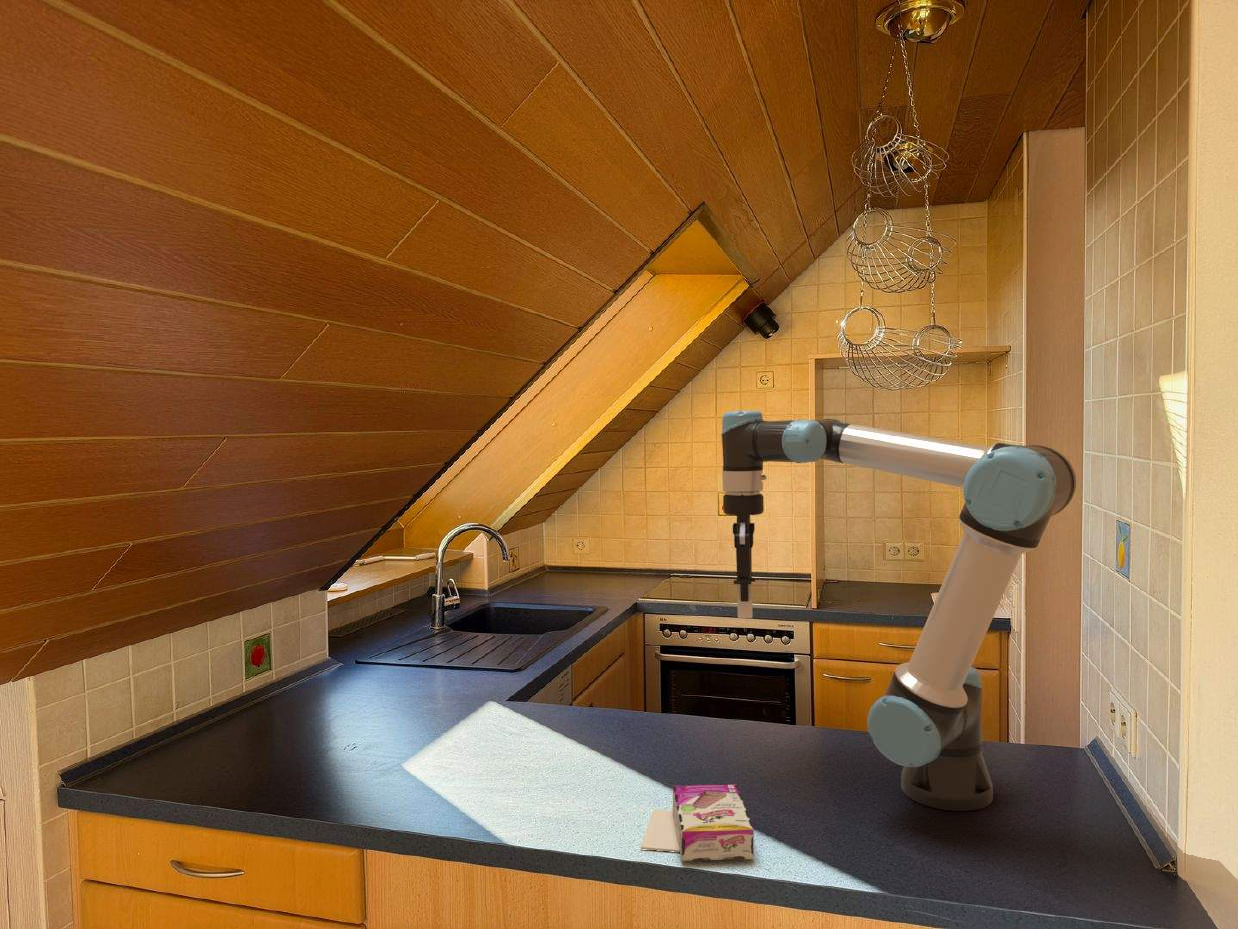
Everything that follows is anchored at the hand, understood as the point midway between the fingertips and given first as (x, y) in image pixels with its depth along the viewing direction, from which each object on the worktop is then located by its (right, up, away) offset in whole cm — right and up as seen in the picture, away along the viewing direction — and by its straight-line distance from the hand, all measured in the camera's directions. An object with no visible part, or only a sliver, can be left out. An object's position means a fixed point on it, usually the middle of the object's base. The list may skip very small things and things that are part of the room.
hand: (745, 617), depth 159 cm
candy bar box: (-9, -27, -16) cm, 33 cm away
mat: (-11, -31, -23) cm, 40 cm away
